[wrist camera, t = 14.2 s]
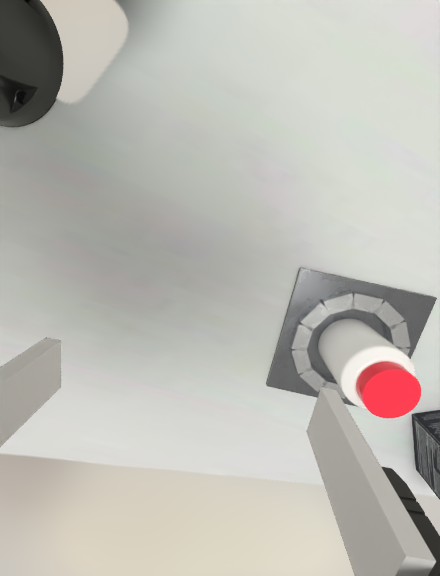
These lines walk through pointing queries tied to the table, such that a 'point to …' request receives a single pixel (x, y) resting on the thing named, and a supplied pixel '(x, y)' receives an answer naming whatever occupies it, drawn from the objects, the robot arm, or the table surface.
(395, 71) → the table surface
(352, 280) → the ring seat
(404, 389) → the pill bottle
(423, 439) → the small box
